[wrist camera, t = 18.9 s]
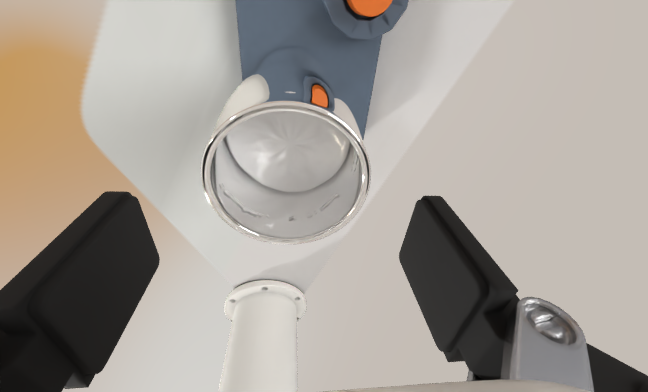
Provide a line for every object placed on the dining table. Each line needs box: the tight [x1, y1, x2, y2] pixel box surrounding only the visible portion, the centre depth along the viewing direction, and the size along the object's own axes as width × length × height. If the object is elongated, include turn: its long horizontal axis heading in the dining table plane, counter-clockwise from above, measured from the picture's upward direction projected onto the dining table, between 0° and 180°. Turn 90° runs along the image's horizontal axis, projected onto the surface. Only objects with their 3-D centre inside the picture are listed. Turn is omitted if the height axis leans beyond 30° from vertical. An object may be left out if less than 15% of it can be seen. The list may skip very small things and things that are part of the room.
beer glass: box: [201, 48, 371, 245], centre depth 16 cm, size 7×7×15 cm
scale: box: [236, 0, 408, 140], centre depth 21 cm, size 14×12×3 cm
